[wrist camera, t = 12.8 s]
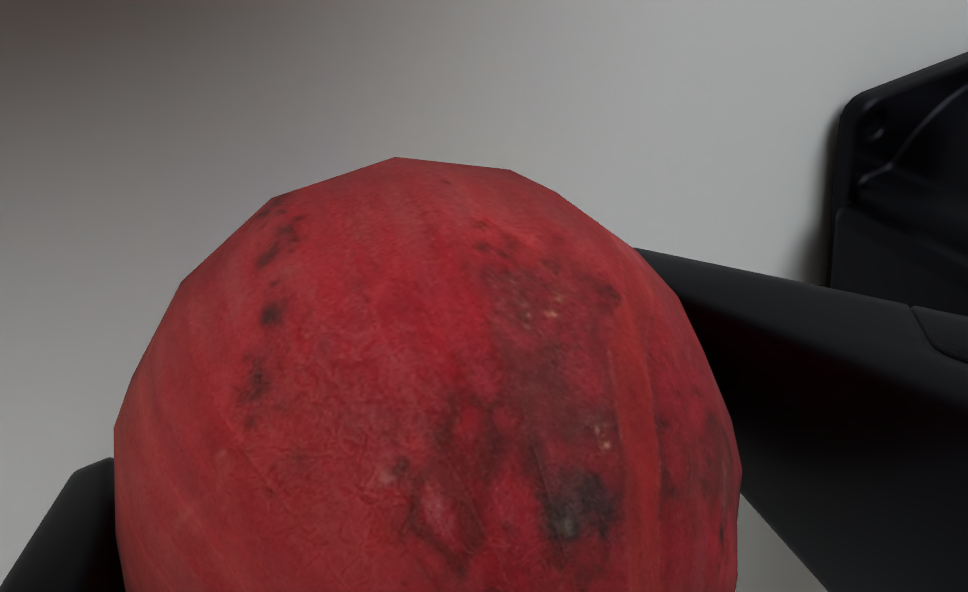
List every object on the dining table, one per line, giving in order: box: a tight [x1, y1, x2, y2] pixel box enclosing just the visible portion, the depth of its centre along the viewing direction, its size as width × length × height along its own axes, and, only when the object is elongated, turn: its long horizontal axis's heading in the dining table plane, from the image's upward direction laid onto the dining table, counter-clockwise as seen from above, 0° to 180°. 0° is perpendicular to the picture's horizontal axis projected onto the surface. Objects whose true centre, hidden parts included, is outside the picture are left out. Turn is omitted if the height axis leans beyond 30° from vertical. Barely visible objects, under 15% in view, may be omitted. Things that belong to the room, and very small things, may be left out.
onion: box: [114, 157, 742, 592], centre depth 8 cm, size 6×6×8 cm
